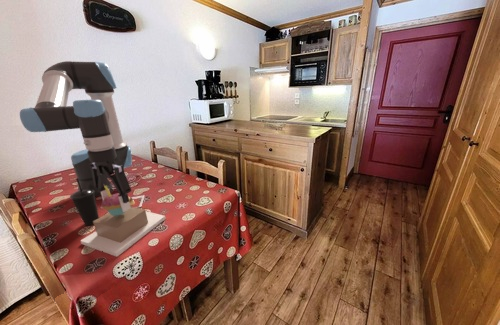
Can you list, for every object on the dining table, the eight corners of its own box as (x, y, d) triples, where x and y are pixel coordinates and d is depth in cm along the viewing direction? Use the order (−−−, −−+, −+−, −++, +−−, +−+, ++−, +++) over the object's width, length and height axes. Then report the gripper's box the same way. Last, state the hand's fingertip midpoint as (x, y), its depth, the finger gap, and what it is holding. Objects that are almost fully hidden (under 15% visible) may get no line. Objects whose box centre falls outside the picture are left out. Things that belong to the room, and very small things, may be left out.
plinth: (81, 243, 73) (75, 226, 70) (134, 211, 92) (130, 196, 90) (117, 256, 67) (111, 238, 64) (165, 218, 86) (162, 203, 83)
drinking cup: (88, 217, 88) (73, 175, 82) (107, 216, 89) (93, 174, 82) (76, 228, 81) (58, 183, 75) (96, 227, 82) (80, 182, 75)
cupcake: (103, 221, 70) (93, 190, 66) (106, 209, 77) (97, 181, 73) (131, 214, 74) (123, 184, 70) (132, 203, 81) (125, 176, 77)
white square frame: (118, 201, 102) (116, 193, 101) (145, 196, 106) (143, 188, 104) (112, 214, 91) (109, 204, 90) (141, 208, 95) (139, 199, 94)
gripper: (68, 149, 68) (88, 208, 75) (112, 154, 60) (129, 219, 68) (91, 143, 74) (108, 198, 82) (134, 147, 67) (147, 207, 75)
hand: (117, 207), depth 75 cm, fingers closed on cupcake, 8 cm apart
